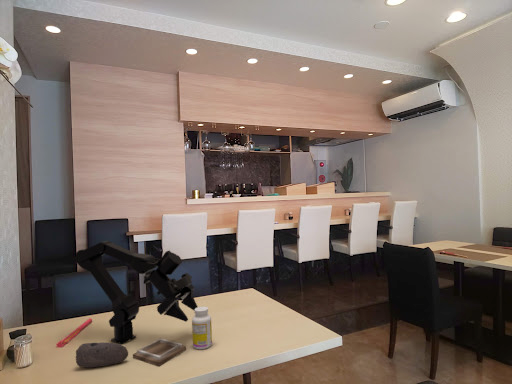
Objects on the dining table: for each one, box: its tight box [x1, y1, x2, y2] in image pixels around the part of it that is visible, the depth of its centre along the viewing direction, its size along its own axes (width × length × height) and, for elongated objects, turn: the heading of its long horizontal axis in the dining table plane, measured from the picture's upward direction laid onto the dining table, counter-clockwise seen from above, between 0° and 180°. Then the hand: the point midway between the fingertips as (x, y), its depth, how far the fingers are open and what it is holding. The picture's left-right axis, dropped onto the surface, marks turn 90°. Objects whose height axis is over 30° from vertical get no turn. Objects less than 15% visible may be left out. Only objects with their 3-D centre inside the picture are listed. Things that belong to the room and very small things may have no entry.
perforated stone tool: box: [75, 341, 129, 368], centre depth 101 cm, size 15×5×7 cm, turn 98°
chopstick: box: [56, 317, 93, 348], centre depth 126 cm, size 24×2×5 cm
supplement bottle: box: [191, 306, 213, 350], centre depth 112 cm, size 7×7×13 cm
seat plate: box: [132, 337, 187, 367], centre depth 107 cm, size 12×12×2 cm
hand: (192, 315), depth 113 cm, fingers open, 9 cm apart
